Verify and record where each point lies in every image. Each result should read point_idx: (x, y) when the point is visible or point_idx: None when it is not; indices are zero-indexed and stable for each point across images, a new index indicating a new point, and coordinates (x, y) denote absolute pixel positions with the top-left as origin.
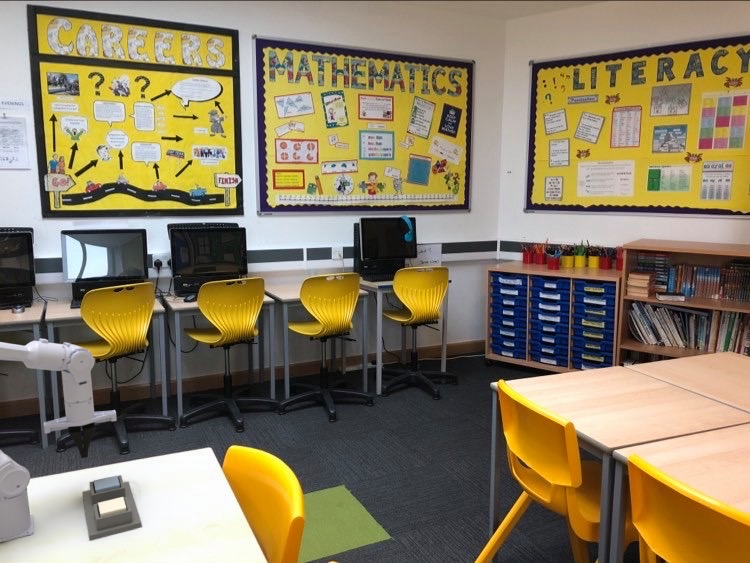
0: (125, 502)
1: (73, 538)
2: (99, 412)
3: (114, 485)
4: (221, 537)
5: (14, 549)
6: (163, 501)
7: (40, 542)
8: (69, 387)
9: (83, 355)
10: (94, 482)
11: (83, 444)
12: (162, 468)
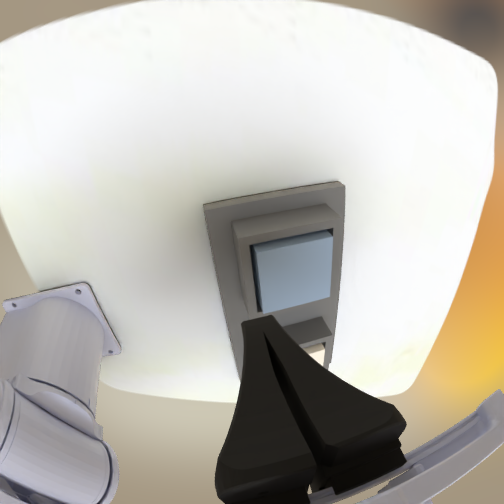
0: (323, 345)
1: (208, 369)
2: (470, 463)
3: (315, 297)
4: (401, 371)
5: (107, 376)
6: (384, 280)
7: (147, 369)
8: None
9: None
10: (259, 268)
11: (274, 353)
12: (424, 111)
